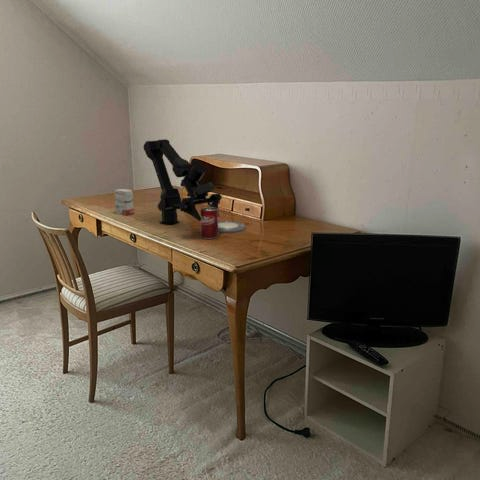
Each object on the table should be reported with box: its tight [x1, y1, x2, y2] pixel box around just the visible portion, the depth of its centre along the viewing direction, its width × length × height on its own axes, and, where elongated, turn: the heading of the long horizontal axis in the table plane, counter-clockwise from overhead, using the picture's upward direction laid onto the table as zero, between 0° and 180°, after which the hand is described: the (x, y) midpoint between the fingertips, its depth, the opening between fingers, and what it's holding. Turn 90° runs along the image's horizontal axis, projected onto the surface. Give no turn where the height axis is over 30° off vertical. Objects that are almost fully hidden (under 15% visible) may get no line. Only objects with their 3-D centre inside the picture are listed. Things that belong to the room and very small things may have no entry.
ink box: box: [114, 188, 135, 216], centre depth 243 cm, size 9×5×12 cm, turn 53°
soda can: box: [199, 206, 219, 240], centre depth 204 cm, size 7×7×12 cm
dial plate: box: [218, 220, 246, 234], centre depth 219 cm, size 16×16×1 cm
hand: (209, 218), depth 203 cm, fingers open, 9 cm apart
